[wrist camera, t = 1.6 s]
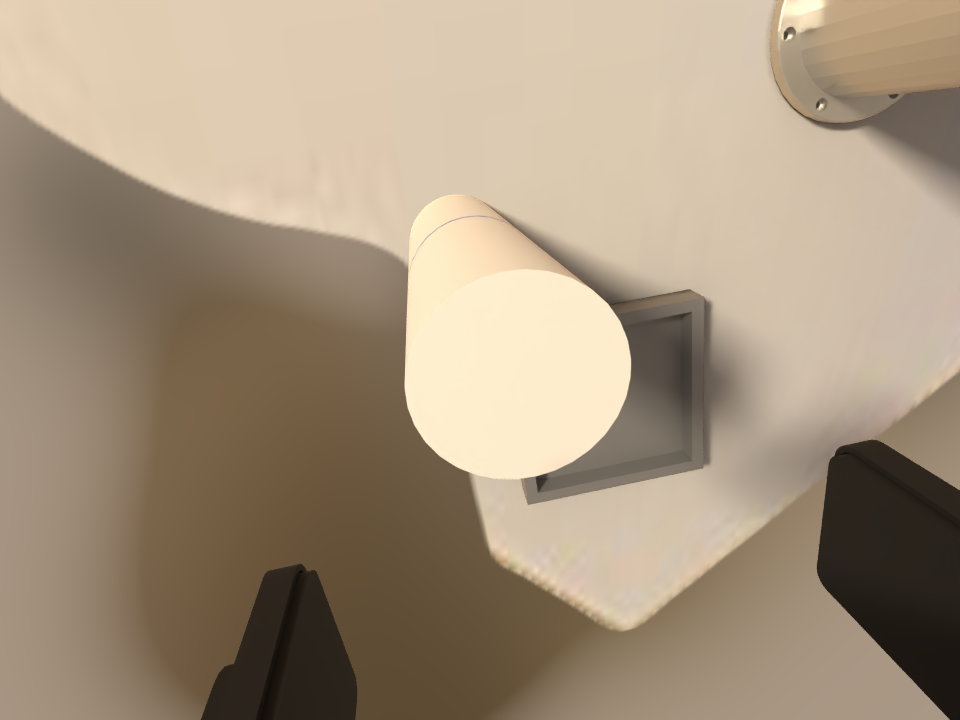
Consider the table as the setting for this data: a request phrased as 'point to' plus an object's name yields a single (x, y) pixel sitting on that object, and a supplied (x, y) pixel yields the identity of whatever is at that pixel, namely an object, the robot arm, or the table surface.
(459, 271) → the cylindrical container
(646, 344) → the desk tray
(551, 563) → the table surface
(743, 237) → the table surface
